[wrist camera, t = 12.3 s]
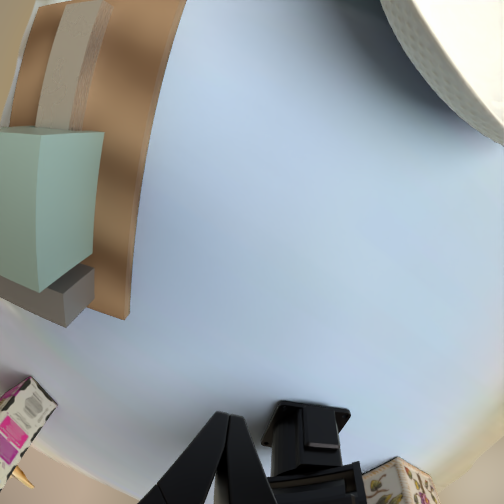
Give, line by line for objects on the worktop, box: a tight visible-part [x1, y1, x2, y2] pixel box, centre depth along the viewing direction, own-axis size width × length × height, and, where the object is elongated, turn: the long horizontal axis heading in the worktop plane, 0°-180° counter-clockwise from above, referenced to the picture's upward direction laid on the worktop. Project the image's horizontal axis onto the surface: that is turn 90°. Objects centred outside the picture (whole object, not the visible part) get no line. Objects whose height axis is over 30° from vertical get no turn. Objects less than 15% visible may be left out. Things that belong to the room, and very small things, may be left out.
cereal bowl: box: [380, 0, 504, 146], centre depth 10 cm, size 17×17×7 cm
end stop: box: [0, 263, 95, 328], centre depth 18 cm, size 2×7×4 cm, turn 77°
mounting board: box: [9, 0, 187, 320], centre depth 17 cm, size 22×12×1 cm, turn 167°
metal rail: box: [35, 0, 114, 131], centre depth 16 cm, size 20×3×2 cm, turn 167°
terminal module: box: [0, 126, 105, 293], centre depth 15 cm, size 8×6×6 cm
